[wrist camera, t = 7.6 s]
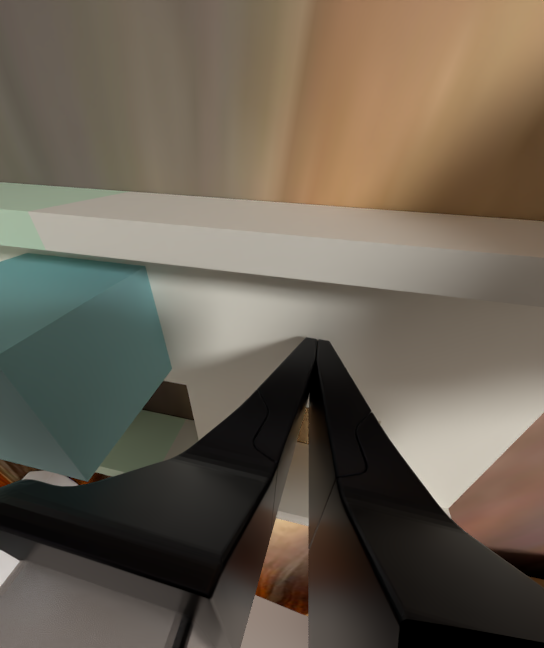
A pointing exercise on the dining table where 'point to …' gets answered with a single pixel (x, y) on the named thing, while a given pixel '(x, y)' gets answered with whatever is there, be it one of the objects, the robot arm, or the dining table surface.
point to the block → (74, 359)
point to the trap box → (320, 315)
